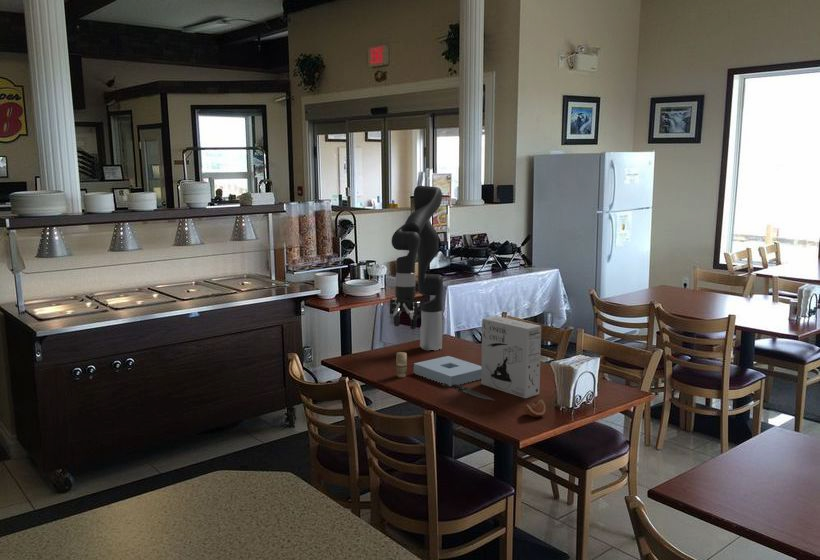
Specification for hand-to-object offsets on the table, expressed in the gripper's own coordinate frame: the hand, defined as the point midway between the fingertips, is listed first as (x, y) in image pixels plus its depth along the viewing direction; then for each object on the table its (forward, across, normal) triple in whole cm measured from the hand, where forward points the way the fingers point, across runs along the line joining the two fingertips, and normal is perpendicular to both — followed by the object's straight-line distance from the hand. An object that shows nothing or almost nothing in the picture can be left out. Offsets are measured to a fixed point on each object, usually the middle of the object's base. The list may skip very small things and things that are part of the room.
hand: (404, 327), depth 262 cm
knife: (+21, -27, -5) cm, 35 cm away
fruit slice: (+22, -58, -1) cm, 62 cm away
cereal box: (+20, -36, -18) cm, 45 cm away
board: (+19, -10, -15) cm, 27 cm away
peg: (+20, +3, -2) cm, 20 cm away
